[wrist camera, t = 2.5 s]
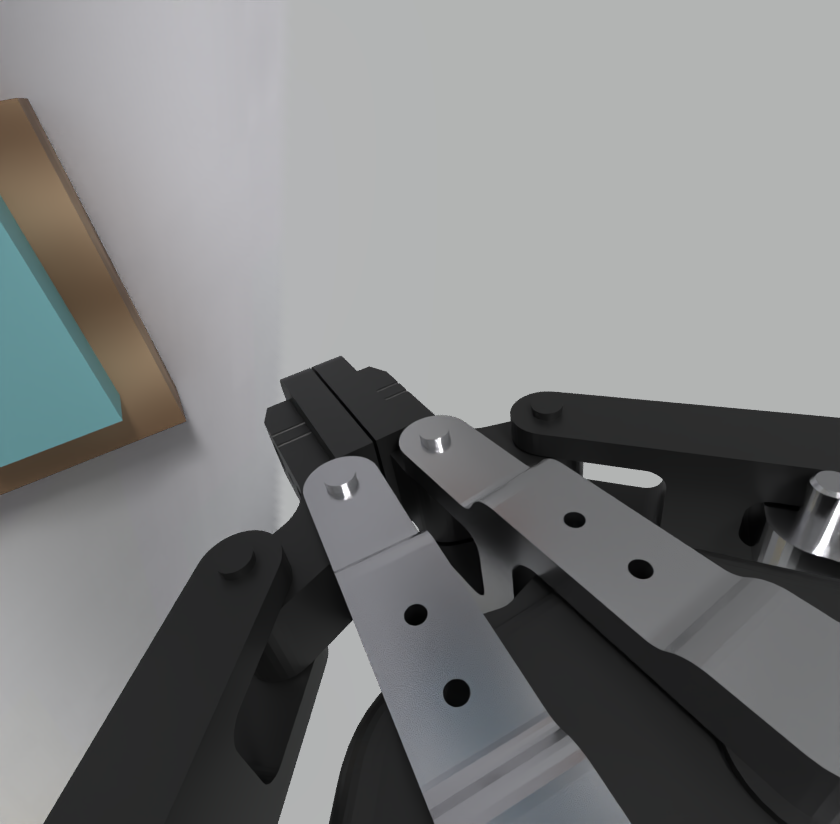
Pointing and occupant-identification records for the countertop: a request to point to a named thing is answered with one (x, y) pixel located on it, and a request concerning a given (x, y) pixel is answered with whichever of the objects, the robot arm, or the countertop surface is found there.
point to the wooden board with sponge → (80, 297)
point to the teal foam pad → (43, 359)
